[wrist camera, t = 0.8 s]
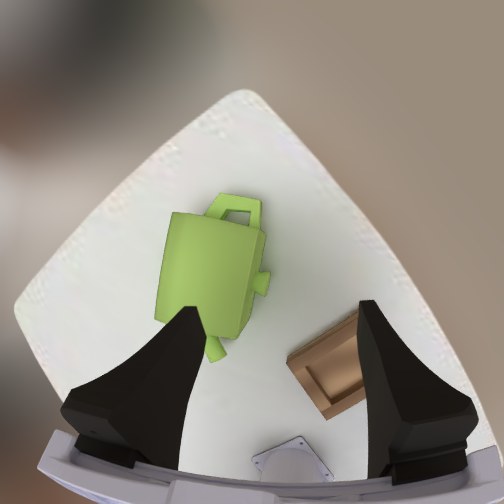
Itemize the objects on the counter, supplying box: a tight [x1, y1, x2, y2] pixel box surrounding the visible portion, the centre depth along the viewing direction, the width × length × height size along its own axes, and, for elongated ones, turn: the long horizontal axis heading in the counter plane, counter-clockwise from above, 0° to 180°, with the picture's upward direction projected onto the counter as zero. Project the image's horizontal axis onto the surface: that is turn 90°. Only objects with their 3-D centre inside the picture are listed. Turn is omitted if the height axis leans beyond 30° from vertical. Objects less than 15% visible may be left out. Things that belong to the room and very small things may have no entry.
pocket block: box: [286, 311, 366, 420], centre depth 34 cm, size 9×11×3 cm
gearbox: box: [154, 193, 270, 363], centre depth 33 cm, size 18×10×10 cm, turn 168°
